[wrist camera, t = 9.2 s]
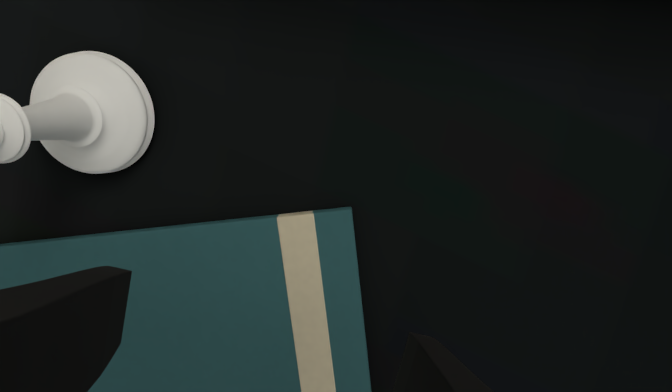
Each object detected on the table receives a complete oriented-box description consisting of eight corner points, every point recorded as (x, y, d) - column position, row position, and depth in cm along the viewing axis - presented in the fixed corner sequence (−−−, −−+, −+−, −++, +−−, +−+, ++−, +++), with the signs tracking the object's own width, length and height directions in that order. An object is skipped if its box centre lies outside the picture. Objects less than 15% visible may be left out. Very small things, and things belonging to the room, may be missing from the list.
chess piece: (27, 55, 20) (-299, 40, 10) (145, 46, 20) (-81, 21, 10) (52, 175, 21) (-220, 262, 12) (163, 169, 21) (-22, 254, 11)
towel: (379, 464, 24) (380, 473, 24) (-22, 501, 25) (-29, 510, 24) (351, 206, 21) (351, 209, 21) (-100, 254, 22) (-110, 258, 21)
